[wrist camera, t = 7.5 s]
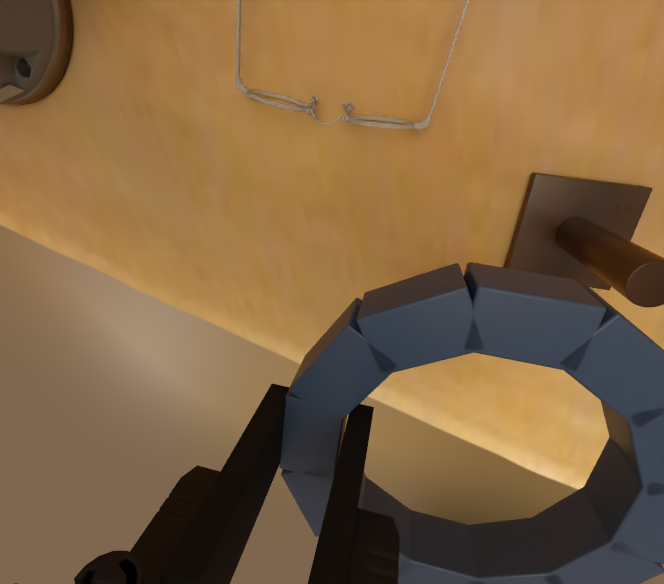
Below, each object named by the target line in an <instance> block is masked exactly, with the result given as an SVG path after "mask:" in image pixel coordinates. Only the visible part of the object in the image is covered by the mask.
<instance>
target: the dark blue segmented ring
mask: <svg viewBox="0 0 664 584" xmlns="http://www.w3.org/2000/svg"><path fill="white" fill-rule="evenodd" d="M473 352H475V353H480V354H485V355H490V356H495V357H500V358H505V359H510V360H516V361H521V362H526V363H531V364H536V365H541V366H546V367H551V368H556V369H561V370H564V371H565V372H567V373H568V374H569V375H570V376H572V377H573V378H574V379H575V380H577V381H578V382H579V383H580V384H581V385H583V386H584V387H585V388H586V389H588V390H589V391H590V392H591V393H593V394H594V395H595V396H596V397H598V398H599V399H600V400H601V403H602V408H603V412H604V416H605V420H606V424H607V428H608V432H609V436H610V437H609V439H608V441H607V443H606V445H605V447H604V449H603V451H602V453H601V455H600V457H599V459H598V461H597V463H596V465H595V467H594V468H593V470H592V472H591V474H590V476H589V478H588V480H587V482H586V484H585V486H584V487H583V488H581V489H579V490H578V491H576V492H574V493H573V494H571V495H569V496H567V497H566V498H564V499H562V500H561V501H559V502H558V503H555V504H554V505H552V506H551V507H549V508H547V509H545V510H544V511H542V512H540V513H539V514H537V515H535V516H533V517H532V518H524V519H516V520H507V521H499V522H490V523H481V524H472V525H468V524H463V523H460V522H456V521H452V520H448V519H444V518H440V517H436V516H432V515H428V514H424V513H420V512H416V511H412V510H410V509H408V508H407V507H406V506H405V505H403V504H402V503H401V502H399V501H398V500H397V499H395V498H394V497H392V496H391V495H390V494H388V493H387V492H385V491H384V490H383V489H382V488H380V487H379V486H378V485H376V484H375V483H373V482H372V481H371V480H369V479H368V478H367V477H366V475H365V473H364V472H363V479H362V485H361V491H360V498H359V504H358V508H361V509H364V510H368V511H372V512H375V513H379V514H383V515H386V516H390V517H393V519H394V522H395V524H396V527H397V530H398V533H399V536H400V548H399V572H398V584H639V583H642V582H644V581H646V580H649V579H651V578H653V577H656V576H658V575H660V574H662V573H664V568H663V566H662V564H664V350H663V349H662V348H661V347H660V346H659V345H657V344H656V343H655V342H654V341H653V340H651V339H650V338H649V337H648V336H647V335H645V334H644V333H643V332H642V331H641V330H639V329H638V328H637V327H636V326H635V325H634V324H632V323H631V322H630V321H629V320H628V319H626V318H625V317H624V316H623V315H622V314H620V313H619V312H618V311H617V310H616V309H614V308H613V307H612V306H611V305H610V304H609V303H607V302H606V301H605V300H604V299H603V298H601V297H600V296H599V295H598V294H597V293H595V292H594V291H593V290H592V289H591V288H589V287H588V286H587V285H583V286H581V285H580V284H578V283H577V282H576V281H575V280H573V279H567V278H561V277H555V276H549V275H543V274H538V273H532V272H526V271H520V270H514V269H508V268H502V267H496V266H490V265H484V264H478V263H472V262H470V263H468V264H467V266H466V270H465V274H464V276H463V274H462V271H461V268H460V265H459V264H458V263H455V264H452V265H449V266H446V267H443V268H440V269H436V270H433V271H430V272H427V273H424V274H421V275H418V276H415V277H412V278H409V279H405V280H402V281H399V282H396V283H393V284H390V285H387V286H384V287H381V288H378V289H374V290H371V291H368V292H366V293H364V297H363V300H361V299H359V298H358V297H357V298H356V299H355V300H354V301H353V302H352V303H351V304H350V306H349V307H348V308H347V309H346V310H345V311H344V312H343V313H342V315H341V316H340V317H339V318H338V319H337V320H336V321H335V323H334V324H333V325H332V326H331V327H330V328H329V329H328V330H327V332H326V333H325V334H324V335H323V336H322V337H321V338H320V340H319V341H318V342H317V343H316V344H315V345H314V346H313V347H312V349H311V350H310V351H309V352H308V353H307V354H306V355H305V357H304V359H303V361H302V363H301V365H300V367H299V369H298V372H297V374H296V376H295V378H294V380H293V382H292V384H291V386H290V388H289V391H288V393H287V395H286V397H285V401H286V408H285V418H284V429H283V439H282V449H281V460H280V468H282V469H283V470H282V473H281V475H282V477H283V479H284V481H285V483H286V484H287V486H288V488H289V490H290V492H291V493H292V495H293V497H294V499H295V501H296V502H297V504H298V506H299V508H300V509H301V511H302V513H303V515H304V517H305V518H306V520H307V522H308V524H309V526H310V527H311V529H312V531H313V533H314V535H315V536H316V537H317V536H320V531H321V527H322V523H323V519H324V515H325V511H326V507H327V503H328V499H329V494H330V490H331V486H332V482H333V478H334V474H335V470H336V466H337V462H338V457H339V453H340V449H341V445H342V441H343V437H344V433H345V432H344V431H345V425H346V418H347V415H348V414H349V413H350V412H351V411H352V410H353V409H354V408H355V407H356V406H358V405H359V404H360V403H361V402H362V401H363V400H364V399H365V398H366V397H367V396H368V395H369V394H370V393H371V392H372V391H373V390H374V389H375V388H377V387H378V386H379V385H380V384H381V383H382V382H383V381H384V380H385V379H386V378H387V377H388V376H389V375H390V374H391V373H393V372H397V371H401V370H405V369H409V368H413V367H417V366H421V365H425V364H429V363H433V362H437V361H441V360H445V359H449V358H453V357H457V356H461V355H465V354H469V353H473Z"/></svg>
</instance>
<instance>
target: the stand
mask: <svg viewBox="0 0 664 584" xmlns="http://www.w3.org/2000/svg"><path fill="white" fill-rule="evenodd" d="M651 191H652V188H649V187H645V186H637V185H629V184H621V183H613V182H604V181H596V180H588V179H580V178H572V177H564V176H556V175H547V174H539V173H532V176H531V179H530V182H529V186H528V189H527V192H526V196H525V199H524V202H523V206H522V209H521V213H520V216H519V219H518V223H517V226H516V229H515V233H514V236H513V239H512V243H511V246H510V249H509V253H508V256H507V259H506V263H505V266H504V268H508V269H514V270H520V271H526V272H532V273H538V274H543V275H549V276H555V277H561V278H567V279H573V280H575V281H576V282H577V283H578V284H580V285H581V286H583V285H587V286H588V287H592V288H599V289H605V290H610V288H611V287H613V288H614V289H615V290H617V291H618V292H619V293H620V294H622V295H623V296H624V297H626V298H627V299H628V300H629V301H631V302H632V303H634V304H636V305H638V306H641V307H656V306H660V305H663V304H664V258H662V257H660V256H658V255H656V254H654V253H652V252H650V251H648V250H646V249H644V248H642V247H640V246H638V245H636V244H634V243H632V242H630V241H631V238H632V236H633V233H634V231H635V229H636V226H637V224H638V222H639V219H640V217H641V215H642V212H643V210H644V207H645V205H646V203H647V200H648V198H649V196H650V193H651Z"/></svg>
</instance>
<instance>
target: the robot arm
mask: <svg viewBox="0 0 664 584" xmlns="http://www.w3.org/2000/svg"><path fill="white" fill-rule="evenodd" d="M71 42H72V19H71V10H70V4H69V0H0V103H1V104H15V105H20V104H28V103H32V102H35V101H37V100H39V99H41V98H43V97H44V96H46V95H47V94H48V93H49V92H50V91H51V90H52V89H54V87H55V86H56V85H57V83H58V82H59V80H60V79H61V77H62V75H63V73H64V71H65V69H66V66H67V63H68V59H69V55H70V49H71ZM288 391H289V387H284V386H280V385H276V384H271V386H270V388H269V390H268V391H267V393H266V395H265V397H264V398H263V400H262V402H261V404H260V405H259V407H258V408H257V410H256V412H255V414H254V415H253V417H252V419H251V420H250V422H249V424H248V426H247V427H246V429H245V431H244V433H243V434H242V436H241V438H240V440H239V441H238V443H237V445H236V446H235V448H234V450H233V451H232V453H231V455H230V457H229V458H228V460H227V462H226V464H225V465H224V467H223V469H222V470H221V472H219V471H216V470H212V469H208V468H205V467H201V466H196V467H195V468H193V469H192V470H191V471H189V472H188V473H187V474H185V475H184V476H183V477H181V478H180V480H179V481H178V483H177V484H176V486H175V487H174V489H173V490H172V492H171V493H170V494H169V498H167V499H166V500H165V502H164V503H163V505H162V506H161V507H160V510H159V512H157V513H156V515H155V516H154V518H153V519H152V521H151V522H150V524H149V525H148V526H147V528H146V529H145V531H144V532H143V534H142V535H141V536H140V538H139V539H138V541H137V542H136V544H135V545H134V547H133V548H132V550H131V551H130V552H128V551H112V552H109V553H106V554H104V555H101V556H98V557H97V558H96V559H94V560H93V561H92V562H90V563H89V564H87V565H86V566H85V567H84V568H83V569H82V570H81V571H80V572H79V573H78V575H77V576H76V577H75V578H74V580H75V584H230V582H231V579H232V577H233V574H234V572H235V570H236V567H237V565H238V563H239V560H240V557H241V555H242V553H243V551H244V548H245V545H246V543H247V541H248V539H249V536H250V534H251V531H252V529H253V526H254V524H255V522H256V519H257V517H258V515H259V512H260V510H261V507H262V505H263V502H264V500H265V498H266V495H267V493H268V490H269V488H270V486H271V483H272V481H273V478H274V476H275V474H276V471H277V469H278V466H279V464H280V460H281V449H282V439H283V429H284V418H285V408H286V401H285V397H286V395H287V393H288ZM373 409H374V408H373V407H370V406H366V405H362V404H359V405H358V406H356V407H355V408H354V409H353V410H352V411H351V412H350V413H349V417H348V420H347V425H346V429H345V433H344V437H343V441H342V445H341V449H340V453H339V457H338V462H337V466H336V470H335V474H334V478H333V482H332V486H331V490H330V494H329V499H328V503H327V507H326V511H325V515H324V519H323V523H322V527H321V531H320V536H319V540H318V544H317V548H316V552H315V556H314V560H313V565H312V568H311V573H310V577H309V581H308V584H398V572H399V548H400V536H399V533H398V530H397V527H396V524H395V522H394V519H393V517H390V516H386V515H383V514H379V513H375V512H372V511H368V510H364V509H361V508H358V504H359V498H360V491H361V485H362V479H363V472H364V466H365V459H366V453H367V447H368V440H369V434H370V428H371V421H372V415H373Z"/></svg>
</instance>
